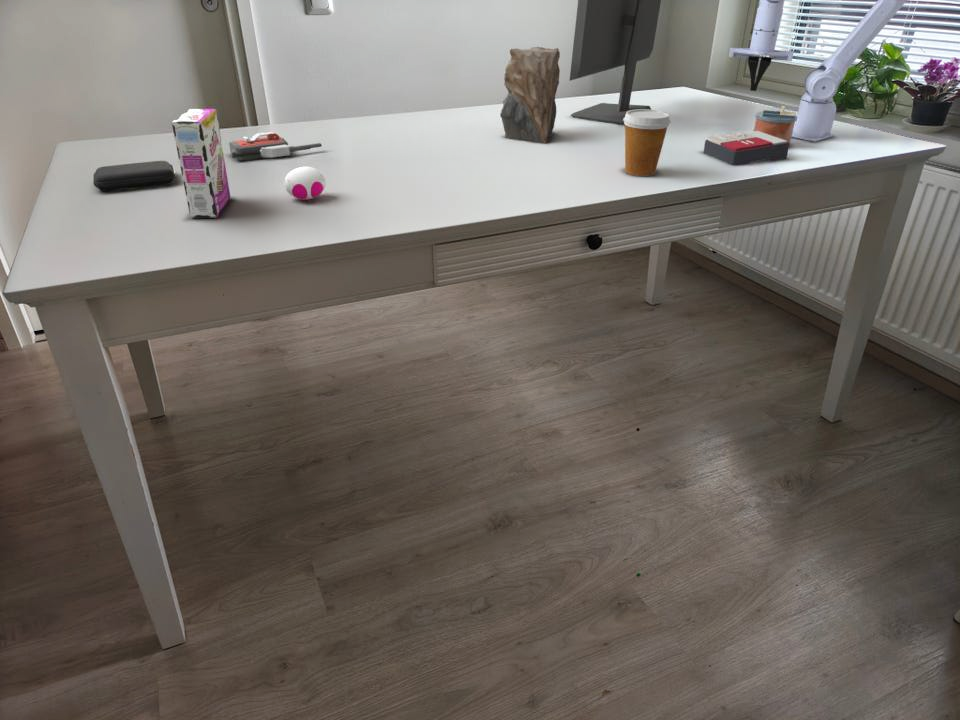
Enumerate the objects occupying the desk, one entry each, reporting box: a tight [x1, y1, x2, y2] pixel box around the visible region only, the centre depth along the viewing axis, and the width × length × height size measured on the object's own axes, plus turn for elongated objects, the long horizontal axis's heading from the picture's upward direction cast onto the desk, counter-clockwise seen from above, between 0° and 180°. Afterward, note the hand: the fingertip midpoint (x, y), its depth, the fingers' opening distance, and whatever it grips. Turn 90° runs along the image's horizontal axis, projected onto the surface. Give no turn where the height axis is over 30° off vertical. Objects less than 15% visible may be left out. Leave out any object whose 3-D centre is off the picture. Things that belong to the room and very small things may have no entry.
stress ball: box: [283, 166, 327, 203], centre depth 131 cm, size 8×8×7 cm
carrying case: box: [93, 160, 177, 192], centre depth 139 cm, size 11×3×15 cm
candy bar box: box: [171, 108, 231, 219], centre depth 123 cm, size 11×5×16 cm, turn 5°
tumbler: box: [752, 109, 797, 146], centre depth 169 cm, size 9×9×7 cm
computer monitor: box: [569, 0, 662, 126], centre depth 185 cm, size 44×16×40 cm, turn 144°
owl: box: [499, 46, 561, 144], centre depth 170 cm, size 13×13×20 cm
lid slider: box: [780, 105, 796, 116], centre depth 166 cm, size 3×3×2 cm
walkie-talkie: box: [228, 131, 322, 162], centre depth 157 cm, size 9×4×20 cm
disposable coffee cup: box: [623, 109, 671, 177], centre depth 146 cm, size 10×10×12 cm
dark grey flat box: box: [703, 130, 791, 166], centre depth 160 cm, size 11×4×15 cm
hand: (753, 90), depth 174 cm, fingers closed
